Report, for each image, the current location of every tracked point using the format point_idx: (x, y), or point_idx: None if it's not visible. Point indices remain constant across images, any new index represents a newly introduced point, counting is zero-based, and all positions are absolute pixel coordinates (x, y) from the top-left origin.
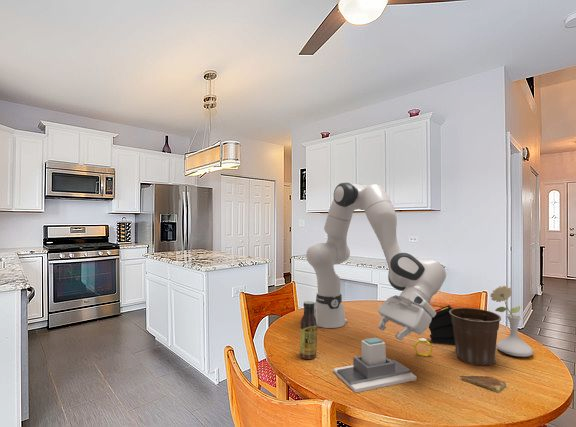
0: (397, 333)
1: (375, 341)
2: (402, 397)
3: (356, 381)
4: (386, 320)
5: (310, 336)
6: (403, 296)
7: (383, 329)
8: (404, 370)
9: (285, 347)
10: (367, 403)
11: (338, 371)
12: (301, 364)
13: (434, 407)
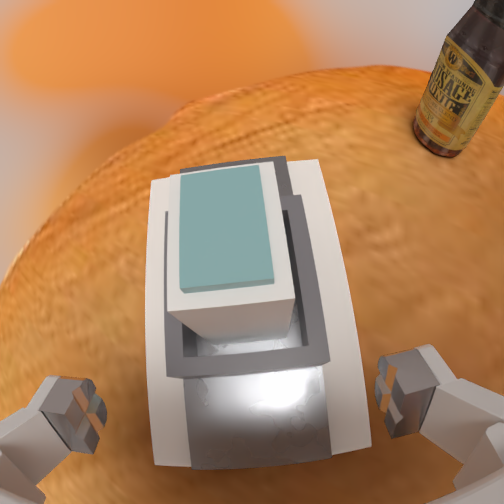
0: (63, 396)
1: (188, 225)
2: (75, 319)
3: None
4: (465, 472)
5: (438, 71)
6: None
7: (378, 399)
8: (196, 439)
9: None
10: (96, 200)
11: (273, 157)
12: (379, 106)
13: (15, 372)
